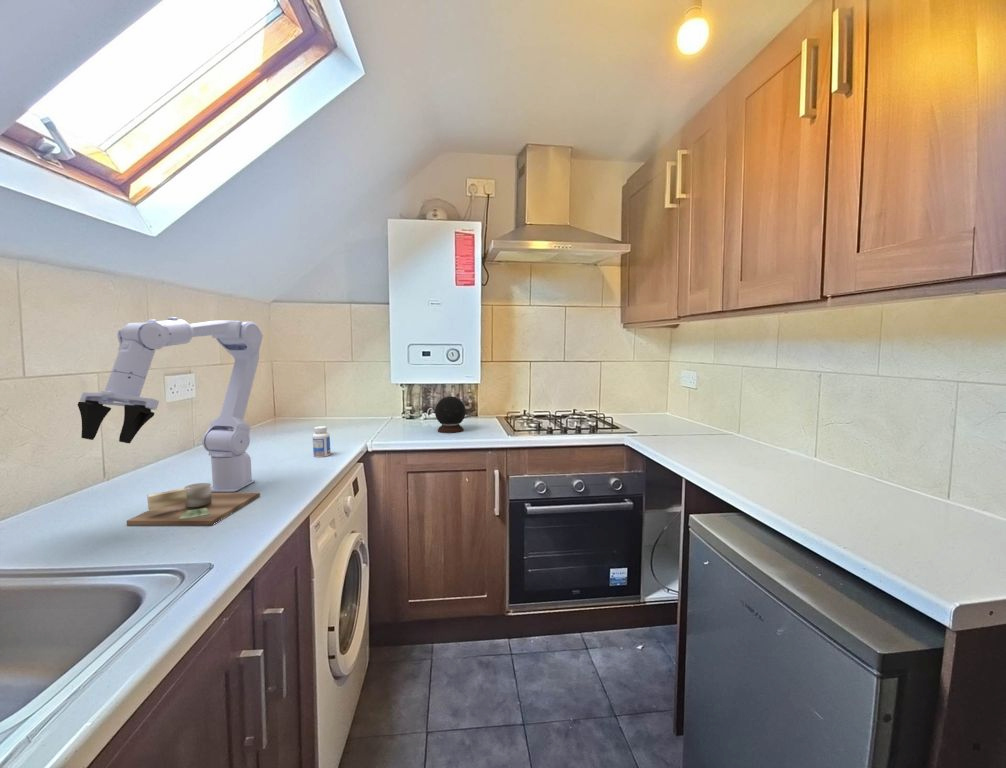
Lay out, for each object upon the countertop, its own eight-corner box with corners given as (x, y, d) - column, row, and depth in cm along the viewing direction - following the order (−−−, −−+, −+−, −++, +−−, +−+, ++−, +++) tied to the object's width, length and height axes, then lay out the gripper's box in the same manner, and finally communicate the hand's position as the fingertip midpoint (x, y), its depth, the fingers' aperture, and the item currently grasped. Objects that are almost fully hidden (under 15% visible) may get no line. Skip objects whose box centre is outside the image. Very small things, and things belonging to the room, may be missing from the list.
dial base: (187, 496, 113) (187, 491, 113) (259, 496, 112) (259, 491, 112) (126, 525, 95) (126, 519, 95) (212, 525, 94) (211, 519, 94)
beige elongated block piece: (207, 498, 107) (206, 481, 107) (214, 502, 104) (213, 485, 103) (146, 511, 98) (145, 493, 98) (152, 517, 95) (151, 498, 95)
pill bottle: (325, 452, 158) (324, 425, 157) (333, 455, 155) (332, 426, 154) (310, 455, 154) (309, 427, 153) (318, 458, 150) (317, 429, 150)
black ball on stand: (435, 434, 190) (434, 398, 189) (435, 428, 203) (434, 395, 202) (467, 433, 192) (466, 397, 191) (464, 427, 205) (464, 394, 204)
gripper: (77, 366, 91) (51, 433, 87) (148, 373, 91) (125, 440, 87) (106, 377, 98) (83, 440, 94) (172, 383, 97) (152, 446, 93)
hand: (105, 440), depth 91 cm, fingers open, 7 cm apart
